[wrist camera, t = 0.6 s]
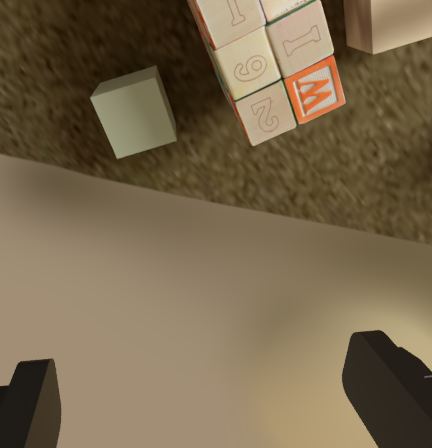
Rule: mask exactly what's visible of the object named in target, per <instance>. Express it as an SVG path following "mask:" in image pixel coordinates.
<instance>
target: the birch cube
mask: <svg viewBox="0 0 432 448" xmlns="http://www.w3.org/2000/svg"><path fill="white" fill-rule="evenodd" d="M343 1H344V15H345V29H346V43H347V46H349V47H352V48H355V49H358V50H361V51H364V52H367V53H370V54H376V53H380V52H383V51H386V50H389V49H393V48H396V47H399V46H402V45H406V44H409V43H412V42H416V41H419V40H422V39H425V38H429V37H432V0H343Z"/></svg>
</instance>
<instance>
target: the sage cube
mask: <svg viewBox="0 0 432 448" xmlns="http://www.w3.org/2000/svg"><path fill="white" fill-rule="evenodd" d="M90 99H91V101H92V103H93V105H94V108H95V110H96V112H97V114H98V117H99V119H100V121H101V123H102V126H103V128H104V130H105V132H106V135H107V137H108V139H109V141H110V144H111V146H112V148H113V150H114V153H115V155H116V157H117V159H118V158H122V157H125V156H128V155H132V154H135V153H138V152H142V151H145V150H148V149H151V148H155V147H158V146H161V145H165V144H168V143H171V142H175V141H177V136H176V122H175V119H174V116H173V113H172V110H171V107H170V104H169V101H168V98H167V95H166V92H165V89H164V86H163V83H162V80H161V77H160V74H159V71H158V68H157V65H156V66H153V67H150V68H146V69H143V70H140V71H137V72H134V73H131V74H127V75H124V76H121V77H118V78H115V79H111V80H108V81H105V82H102V83H100V84H99V85H98V87H97V88H96V90H95V91H94V93H93V94H92V96H91V97H90Z"/></svg>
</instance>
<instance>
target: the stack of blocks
mask: <svg viewBox="0 0 432 448" xmlns="http://www.w3.org/2000/svg"><path fill="white" fill-rule="evenodd" d="M187 2H188V4H189V7H190V9H191V11H192V14H193V16H194V19H195V21H196V23H197V26H198V30H199V33H200V35H201V38H202V40H203V43H204V45H205V48H206V50H207V53H208V55H209V57H210V60H211V62H212V65H213V68H214V71H215V73H216V76H217V78H218V80H219V83H220V85H221V88H222V90H223V93H224V95H225V97H226V99H227V101H228V103H229V105H230V106H231V107H232V109H233V110H234V112H235V115H236V117H237V119H238V121H239V123H240V125H241V127H242V129H243V130H244V132H245V134H246V136H247V138H248V140H249V142H250V144H251V145H252V146H255V145H257V144H259V143H261V142H264V141H266V140H268V139H270V138H273V137H275V136H277V135H279V134H281V133H284V132H286V131H288V130H291V129H293V128H295V127H296V124H303V123H305V122H308V121H310V120H312V119H314V118H316V117H318V116H320V115H323V114H325V113H327V112H329V111H331V110H333V109H335V108H337V107H340V106H341V105H343V104H345V98H344V94H343V90H342V86H341V82H340V78H339V74H338V70H337V66H336V62H335V58H334V56H333V52H334V48H333V45H332V41H331V37H330V33H329V30H328V26H327V22H326V18H325V15H324V11H323V8H322V4H321V1H320V0H187Z"/></svg>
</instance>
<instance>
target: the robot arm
mask: <svg viewBox="0 0 432 448" xmlns="http://www.w3.org/2000/svg"><path fill="white" fill-rule="evenodd" d="M342 382H343V387H344V390H345V393H346V395H347V397H348V399H349V401H350V402H351V404H352V405H353V407H354V409H355V410H356V412H357V413H358V415H359V417H360V418H361V420H362V422H363V423H364V425H365V426H366V428H367V430H368V431H369V433H370V434H371V436H372V437H373V439H374V441H375V443H376V444H377V446H378V447H379V448H432V372H431V371H430V369H429V368H427V366H426V365H425V364H424V363H423V362H422V361H421V360H420V359H419V358H417V357H416V356H414V355H413V354H411V353H410V352H408V351H407V350H405V349H404V348H402V347H397V346H396V345H395V344H394V343H393V342H392V341H391V339H390V338H389V337H388V336H387V335H386V334H385V333H384V332H383V331H380V330H375V331H365V332H355V333H353V334H352V336H351V338H350V342H349V346H348V351H347V355H346V359H345V364H344V368H343V373H342ZM60 424H61V401H60V395H59V388H58V381H57V374H56V368H55V362H54V360H53V359H42V360H31V361H21V362H19V363H18V365H17V367H16V369H15V372H14V374H13V377H12V379H11V382H10V384H9V385H8V386H0V448H56V445H57V440H58V436H59V431H60Z"/></svg>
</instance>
